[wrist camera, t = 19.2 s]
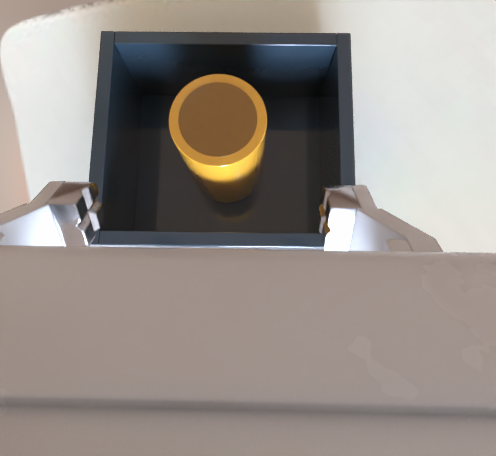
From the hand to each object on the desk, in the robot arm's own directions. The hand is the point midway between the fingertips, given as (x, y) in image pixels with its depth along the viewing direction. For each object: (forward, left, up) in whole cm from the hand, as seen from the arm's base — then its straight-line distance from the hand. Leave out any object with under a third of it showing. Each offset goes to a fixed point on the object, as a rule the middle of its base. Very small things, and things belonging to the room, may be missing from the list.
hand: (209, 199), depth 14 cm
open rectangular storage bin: (0, -5, -13) cm, 15 cm away
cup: (0, -5, -12) cm, 14 cm away
